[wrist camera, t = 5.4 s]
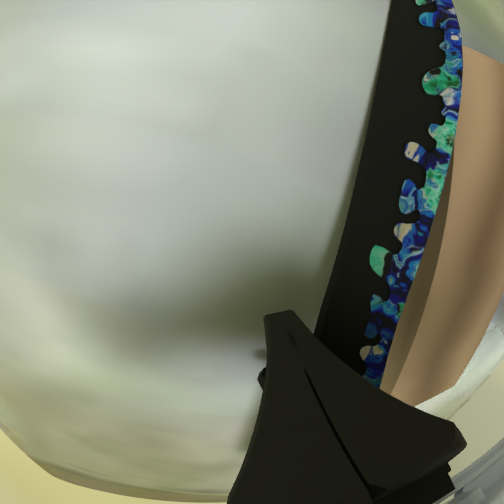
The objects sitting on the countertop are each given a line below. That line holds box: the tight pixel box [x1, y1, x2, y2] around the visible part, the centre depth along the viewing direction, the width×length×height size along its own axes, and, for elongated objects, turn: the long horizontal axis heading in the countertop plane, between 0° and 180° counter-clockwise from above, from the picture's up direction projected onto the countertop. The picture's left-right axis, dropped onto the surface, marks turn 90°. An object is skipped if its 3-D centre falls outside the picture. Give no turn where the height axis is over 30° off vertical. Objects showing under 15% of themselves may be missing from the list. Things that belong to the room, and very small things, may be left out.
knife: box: [257, 0, 463, 390], centre depth 10 cm, size 31×3×4 cm, turn 166°
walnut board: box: [380, 45, 504, 407], centre depth 11 cm, size 7×20×2 cm, turn 6°
